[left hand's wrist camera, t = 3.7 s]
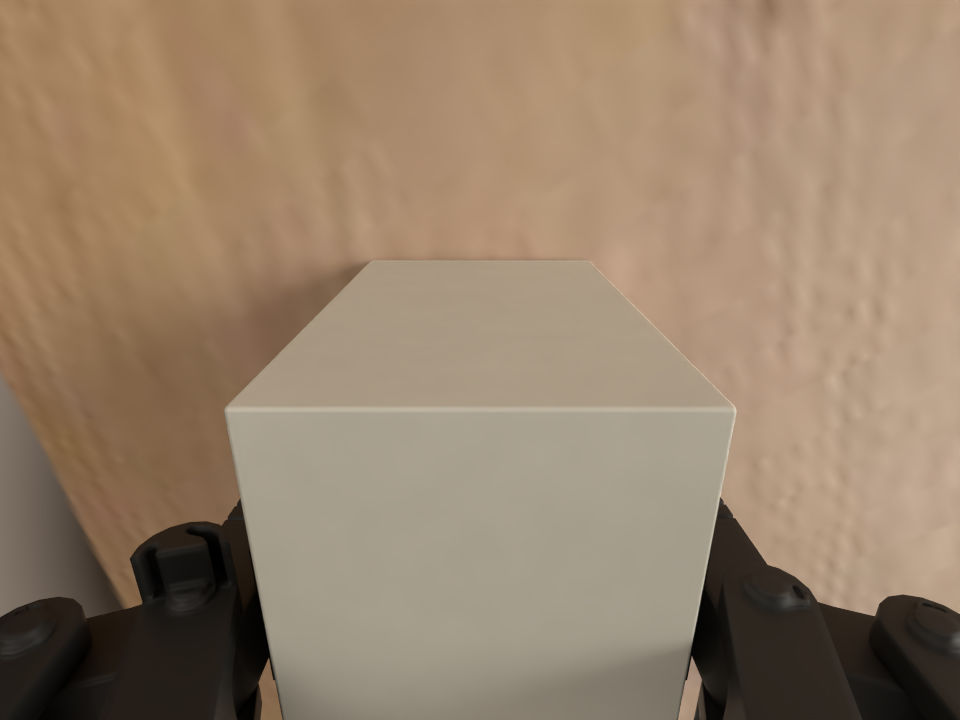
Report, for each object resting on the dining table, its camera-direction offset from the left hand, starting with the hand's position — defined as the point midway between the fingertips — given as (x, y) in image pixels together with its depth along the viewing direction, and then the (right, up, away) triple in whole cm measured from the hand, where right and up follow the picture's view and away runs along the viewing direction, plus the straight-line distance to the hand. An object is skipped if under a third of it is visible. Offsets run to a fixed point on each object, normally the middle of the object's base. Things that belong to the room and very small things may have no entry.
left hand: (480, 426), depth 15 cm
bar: (0, -6, +3) cm, 7 cm away
